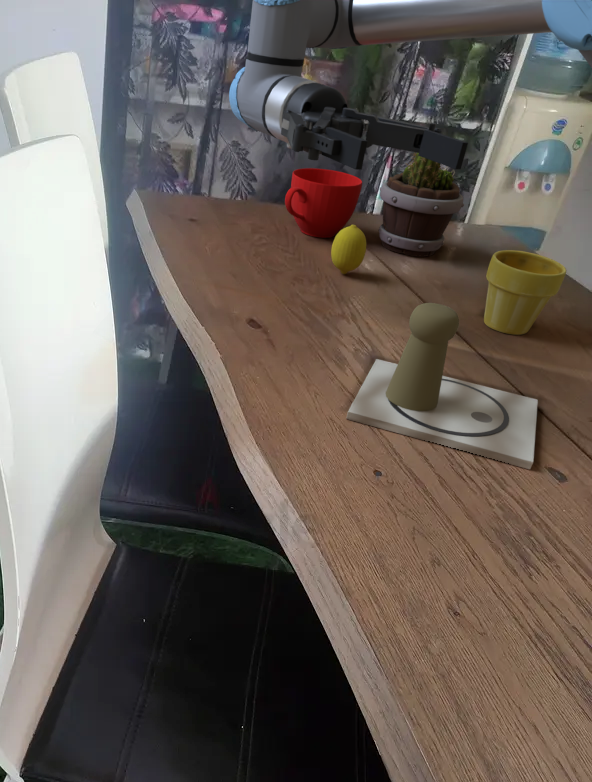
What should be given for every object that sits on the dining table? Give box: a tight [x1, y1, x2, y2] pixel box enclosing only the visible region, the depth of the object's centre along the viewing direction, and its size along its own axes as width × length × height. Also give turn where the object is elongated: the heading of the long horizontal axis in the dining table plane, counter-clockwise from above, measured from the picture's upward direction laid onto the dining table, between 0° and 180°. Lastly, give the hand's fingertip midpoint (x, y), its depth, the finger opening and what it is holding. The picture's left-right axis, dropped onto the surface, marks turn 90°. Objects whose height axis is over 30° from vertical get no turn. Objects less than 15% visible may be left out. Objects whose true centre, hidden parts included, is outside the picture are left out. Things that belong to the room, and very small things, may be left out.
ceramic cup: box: [284, 167, 363, 239], centre depth 137 cm, size 13×17×10 cm
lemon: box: [330, 224, 367, 275], centre depth 120 cm, size 6×6×8 cm
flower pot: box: [483, 249, 567, 336], centre depth 108 cm, size 10×10×10 cm
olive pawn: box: [386, 302, 460, 411], centre depth 82 cm, size 6×6×11 cm
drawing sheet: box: [346, 358, 539, 470], centre depth 85 cm, size 20×16×1 cm
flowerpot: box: [378, 152, 465, 257], centre depth 133 cm, size 14×15×20 cm
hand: (413, 155), depth 78 cm, fingers open, 13 cm apart
